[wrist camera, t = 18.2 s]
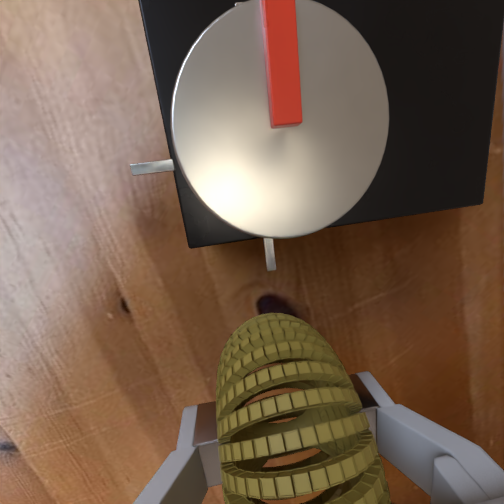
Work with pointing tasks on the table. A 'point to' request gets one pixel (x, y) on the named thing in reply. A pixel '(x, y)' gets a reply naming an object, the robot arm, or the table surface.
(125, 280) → the table surface
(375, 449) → the sculpture
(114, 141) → the table surface
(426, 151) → the panel
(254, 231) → the dial
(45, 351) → the table surface
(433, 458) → the robot arm
